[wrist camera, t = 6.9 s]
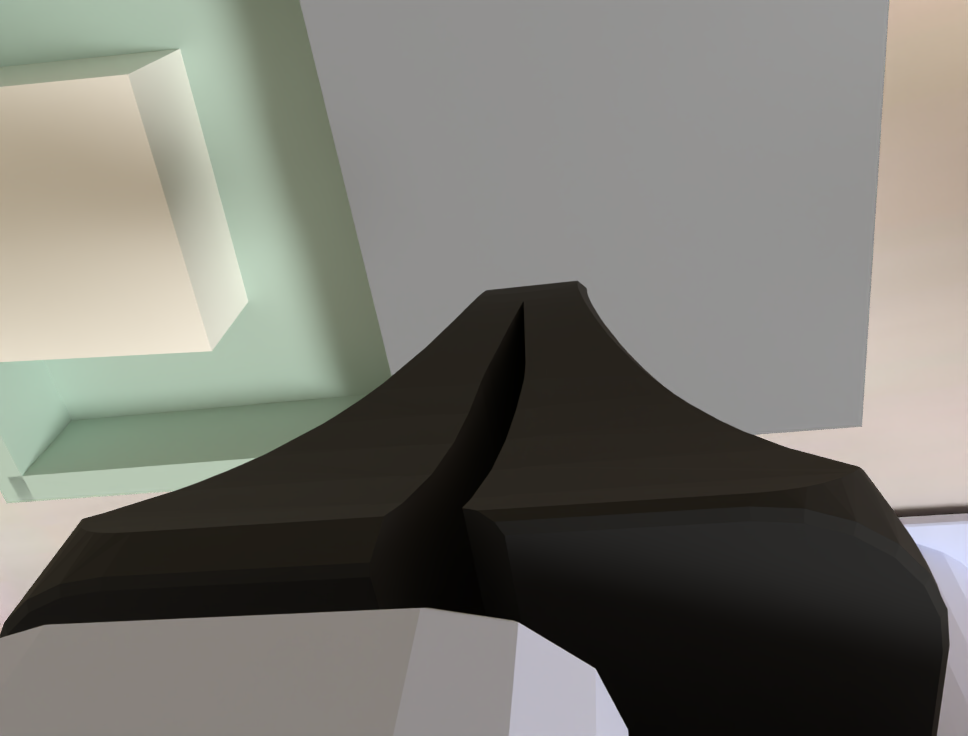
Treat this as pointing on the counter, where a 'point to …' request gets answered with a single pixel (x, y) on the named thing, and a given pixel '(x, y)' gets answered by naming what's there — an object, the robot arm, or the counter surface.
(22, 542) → the counter surface
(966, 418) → the counter surface
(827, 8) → the bench plate
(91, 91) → the tile
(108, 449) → the bin
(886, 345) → the counter surface
